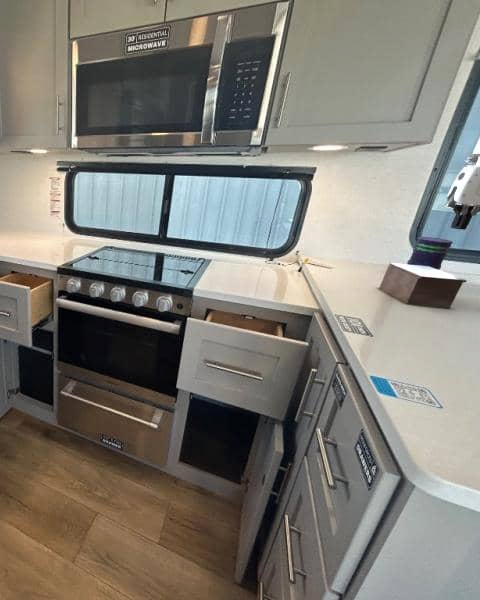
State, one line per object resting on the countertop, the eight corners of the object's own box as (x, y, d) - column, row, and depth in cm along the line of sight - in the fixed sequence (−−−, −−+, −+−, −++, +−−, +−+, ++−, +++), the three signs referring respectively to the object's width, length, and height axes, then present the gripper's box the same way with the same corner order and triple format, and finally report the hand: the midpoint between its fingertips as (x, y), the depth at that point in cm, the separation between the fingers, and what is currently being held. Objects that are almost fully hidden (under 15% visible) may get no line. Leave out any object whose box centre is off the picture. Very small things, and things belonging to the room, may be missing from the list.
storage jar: (404, 275, 134) (420, 239, 128) (401, 270, 141) (416, 235, 136) (438, 281, 129) (456, 243, 123) (433, 275, 136) (450, 239, 130)
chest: (449, 308, 103) (463, 282, 99) (406, 304, 105) (418, 278, 101) (416, 292, 116) (427, 268, 112) (378, 288, 118) (388, 265, 114)
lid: (465, 282, 98) (467, 280, 98) (420, 278, 100) (421, 276, 100) (427, 268, 112) (428, 266, 112) (388, 264, 114) (389, 262, 114)
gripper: (467, 161, 88) (437, 229, 96) (536, 162, 86) (500, 232, 93) (445, 161, 95) (419, 225, 102) (508, 162, 92) (477, 228, 99)
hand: (457, 228), depth 97 cm, fingers closed
